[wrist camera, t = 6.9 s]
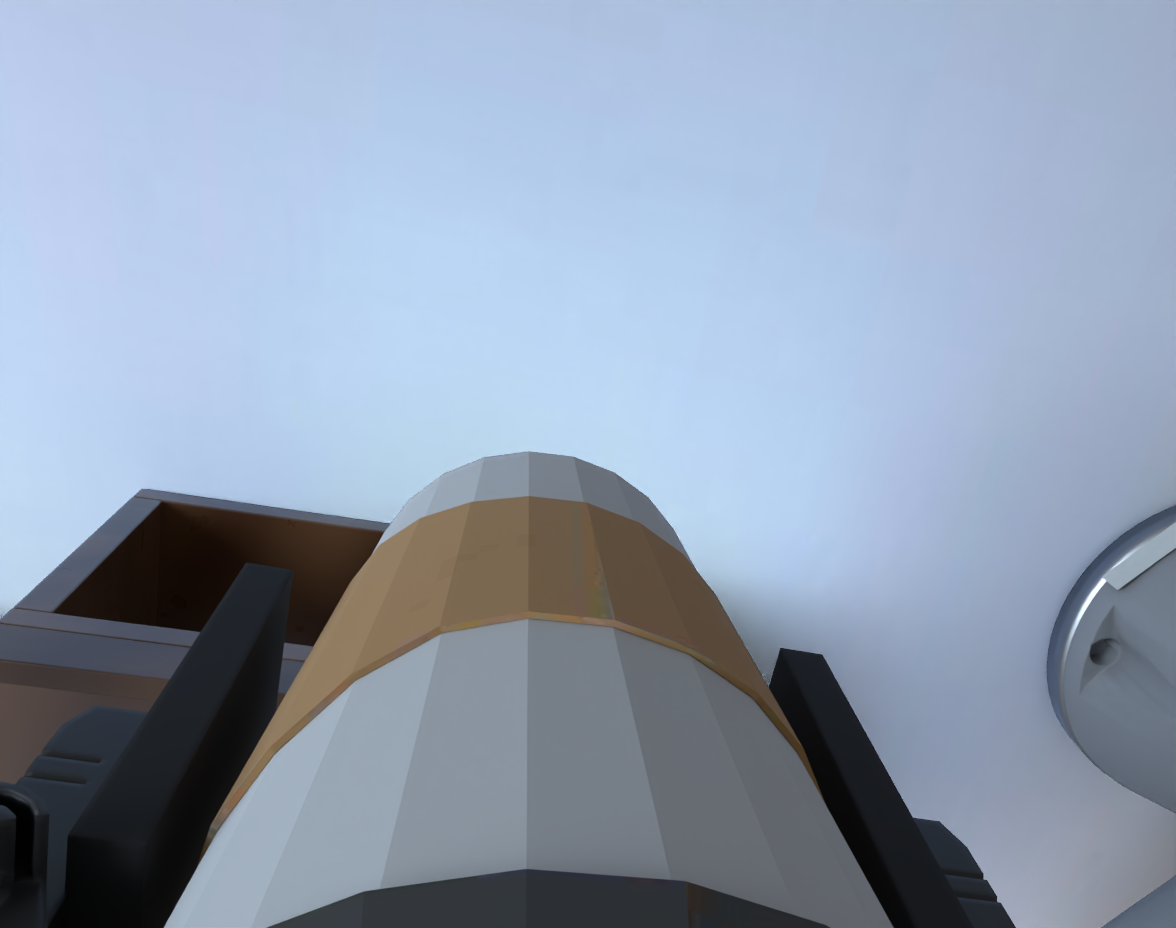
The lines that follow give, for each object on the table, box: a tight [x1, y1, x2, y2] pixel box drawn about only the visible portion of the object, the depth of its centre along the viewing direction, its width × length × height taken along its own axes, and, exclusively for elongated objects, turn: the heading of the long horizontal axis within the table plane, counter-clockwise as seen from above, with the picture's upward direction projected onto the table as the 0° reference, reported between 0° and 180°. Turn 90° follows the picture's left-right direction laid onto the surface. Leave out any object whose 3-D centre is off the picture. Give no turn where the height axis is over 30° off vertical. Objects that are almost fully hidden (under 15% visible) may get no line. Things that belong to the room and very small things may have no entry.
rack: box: [0, 489, 390, 784], centre depth 38 cm, size 20×13×14 cm, turn 80°
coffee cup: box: [164, 452, 893, 928], centre depth 13 cm, size 8×8×15 cm
